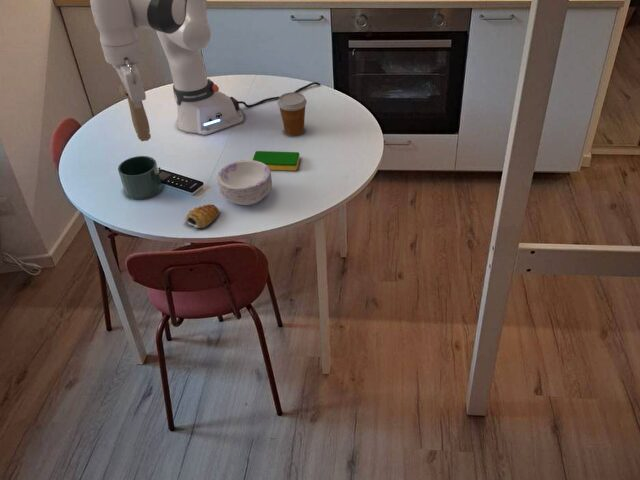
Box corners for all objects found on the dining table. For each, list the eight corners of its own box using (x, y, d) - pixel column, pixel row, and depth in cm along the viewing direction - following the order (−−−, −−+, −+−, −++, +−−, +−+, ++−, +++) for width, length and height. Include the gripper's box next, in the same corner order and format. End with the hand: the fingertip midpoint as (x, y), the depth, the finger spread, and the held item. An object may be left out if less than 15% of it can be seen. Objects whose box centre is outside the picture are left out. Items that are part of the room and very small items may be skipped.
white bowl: (228, 180, 185) (224, 157, 180) (277, 182, 184) (275, 159, 178) (214, 210, 174) (210, 187, 168) (267, 213, 172) (264, 189, 167)
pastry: (207, 206, 175) (205, 195, 172) (225, 214, 172) (223, 203, 170) (183, 223, 169) (181, 212, 167) (201, 232, 166) (198, 221, 164)
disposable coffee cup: (275, 135, 204) (271, 102, 196) (288, 122, 211) (285, 89, 203) (301, 140, 202) (298, 107, 194) (313, 127, 208) (311, 94, 200)
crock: (157, 175, 187) (151, 152, 182) (166, 193, 180) (160, 170, 175) (121, 184, 184) (114, 161, 178) (129, 203, 177) (122, 180, 171)
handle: (150, 145, 165) (137, 93, 155) (129, 141, 167) (115, 90, 157) (159, 136, 169) (147, 85, 159) (139, 132, 170) (125, 81, 160)
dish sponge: (296, 171, 188) (296, 164, 187) (252, 169, 189) (251, 162, 188) (299, 158, 194) (299, 151, 192) (256, 157, 194) (255, 150, 193)
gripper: (144, 64, 145) (157, 117, 155) (126, 35, 159) (139, 85, 168) (117, 70, 143) (131, 123, 152) (101, 39, 157) (116, 89, 166)
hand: (135, 102), depth 160 cm, fingers closed on handle, 4 cm apart
